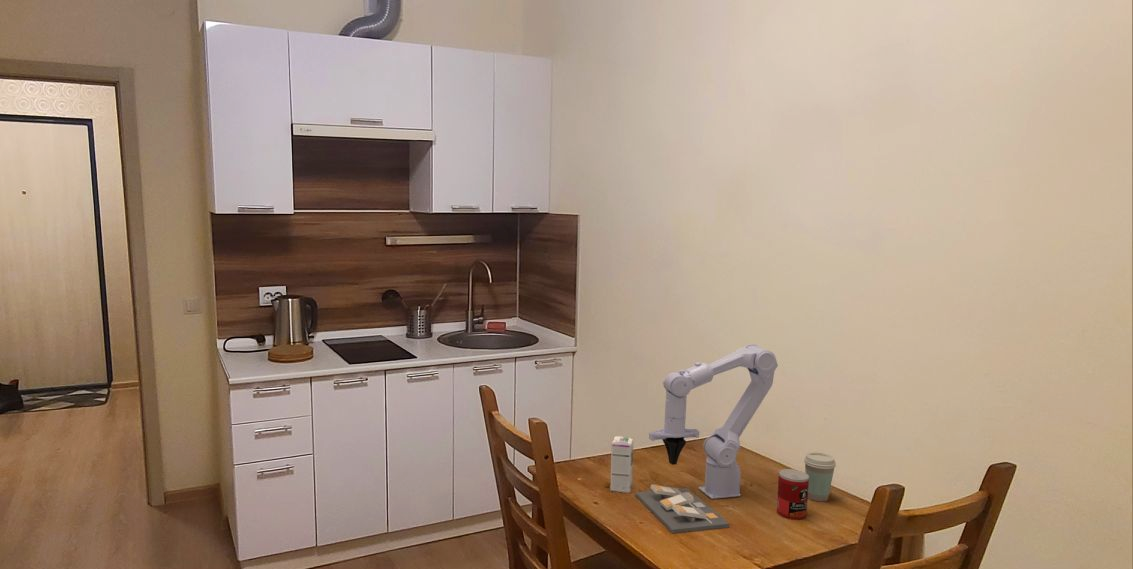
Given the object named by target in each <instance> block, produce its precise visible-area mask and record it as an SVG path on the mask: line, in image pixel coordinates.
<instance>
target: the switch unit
mask: <svg viewBox="0 0 1133 569" xmlns="http://www.w3.org/2000/svg"><path fill="white" fill-rule="evenodd" d="M677 489H678V490H679V491H680V492H681V493H685V492H687V493H688V494H690V495H691V496H692V497H693V498H694V502H691V503H688V504H685V505H682V506H684V507H690V508H700V509H701V510H702V511H703V512H704V513H706V515H707V517H706V519H703V518H696V517H689V516H682V515H678V514H677V513H676V512H675V511H674V510H673V509H670V510H666V509H665V508H664V507H663V506H662V505H661V503H660V501H661V500H664V499H668V498H671V497H674V496H668V495H662V494H656V493H655V492H654V491H653V490H648V491H647V490H645V491H636V492H635V495H634V496H635V497H636V499H638V500H639V501H640V502H641V503H642V504H643V506H645V507H646V509H647V510H649V511H650V512H651V513H652V514H653V515H654V517H655V518H656V519H658V520H659V522H660V523H661V524H662V525H663V526H664V527H665V528H666V529H667V530H668V531H669V532H670V533H671V534H678V533H679V534H680V533H688V531H691V532H699V531H708V530H717V529H718V530H719V529H726V528H727V529H728V528H730V525H731V524H730V523H731V522H730V523H729V522H728V521H727V520H726V519H725V518H724V517H722V515H720V514H719V513H718V512H717V511H716V510H714V509H713V508H712V507H710V505H708V504H707V503H706V502H705V501H703V500H702V499H701V498H700V497H699V496H698V495H696V494H695V493H694V492H693V491H692V490H690V489H689V488H688V487H682V488H681V487H680V488H677ZM698 530H699V531H698Z"/></svg>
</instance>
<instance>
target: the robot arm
mask: <svg viewBox="0 0 1133 569" xmlns="http://www.w3.org/2000/svg"><path fill="white" fill-rule="evenodd" d="M778 364H779V363H778V361H777V357H776V355H775V353H774V352H773V351H771V350H769V349H764V348H762V347H760V346H758V345H756V344H748V345H746V346H742V347H739V348H738V349H737V350H736V351H734V352H732V353H729V354H727V355H725V356H723V357H721V358H719V359H717V360H715V361H713V362H711V363H709V364H708V363H706V362H704V361H703V362H699V361H697V362H694V365H693V366H691V367H688V368H686V369H684V368H682V369H680V370H679V372H676V371H674V372H670V373H669V374H667V376H665V378H664V381H663V382H662V385H663V388H664V389H665V391H666V392H665V394H666V395H665V406H664V407H665V408H664V409H665V410H664V423H663V424H664V426H663V427H664V428H663V429H659V430H655V431H649V432H648V440H650V441H652V442H653V441H656V440H657V441H658V440H662V442H663V444H664V446H665V449H666V453H667V456H668V457H667V458H668V463H669V464H670V465H672V466H673V465H674V466H676V465H677V463H678V459H679V456H680V454H681V452H682V450H683V449H684V447H685V445H686V443H687V441H686V440H685V439H687V438H688V439H689V438H695V439H696V438H697V439H699V438H700V431H699V430H698V429H697V428H695V429H694V428H693V429H692V428H686V419H687V418H686V416H687V396H689V394H690V392H691V391H692V390H693V389H696V388H699V387H701V386H703V385H705V384H708V383H711V382H712V381H713V379H714V377H715V376H716V375H719V374H722V373H725V372H728V371H731V370H733V369H736V368H738V367H739V368H740V367H741V368H746V369H747V371H748V373H749V376H750V377H749V378H750V382H749V384H748V386H747V387H746V389H745V390H744V392H743V393H742V395H741V397H740V398H739V400H738V402H737V403H736V404H735V407H734V408H733V410H731V413H730V414H729V415H728V417H727V419H726V420H725V422H724V424H723V425H722V426H721V427H719V428H717V429H715V430H714V431H713V433H712V434H711V435H709V436H707V437H706V439H705V440H704V441H703V446H702V447H703V452H704V453H705V454H706V460H705V476H704V485H703V486H698V489H699V490H700V491H701V492H702V493H704V494H705V495H706V496H707V497H708V498H710V499H711V500H714V499H715V500H717V499H724V498H725V499H726V498H737V497H741V496H742V494H741V493H740V489H741V479H742V478H741V475H742V473H741V468H740V465H739V464H738V463H737V461H736V460H737V456H738V452H739V450H740V448H741V443H740V442H741V441H740V437H741V436H742V434H743V432H744V430H745V429H746V427H747V426H748V424H749V423H750V421H751V420H752V418H753V417H754V415H755V413H756V412H757V410H758V409H759V407H760V406H761V404H762V402H763V400H764V399H765V397H766V396H767V395H768V393H769V391H770V390H771V388H772V386H773V383H774V379H775V378H774V377H775V370H776V369H777V368H778Z"/></svg>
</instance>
